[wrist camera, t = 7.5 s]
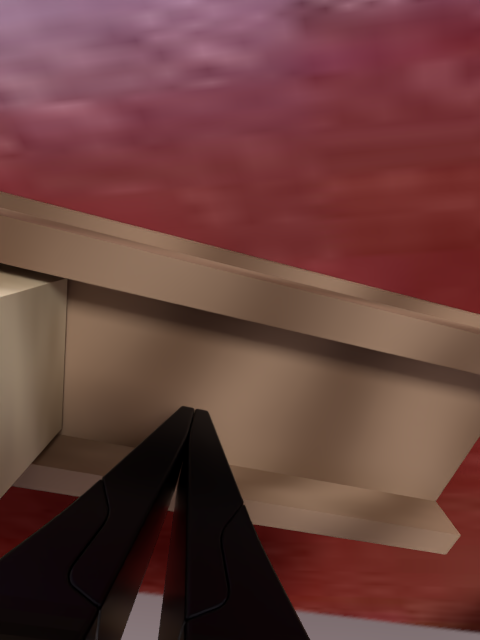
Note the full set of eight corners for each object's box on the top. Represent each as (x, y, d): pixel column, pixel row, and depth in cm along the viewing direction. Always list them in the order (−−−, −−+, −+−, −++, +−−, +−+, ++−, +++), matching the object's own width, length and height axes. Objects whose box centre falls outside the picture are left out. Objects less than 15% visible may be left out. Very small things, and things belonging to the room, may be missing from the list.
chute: (530, 327, 10) (601, 350, 8) (411, 512, 13) (441, 560, 11) (-230, 131, 7) (-388, 99, 6) (-152, 415, 11) (-236, 455, 9)
